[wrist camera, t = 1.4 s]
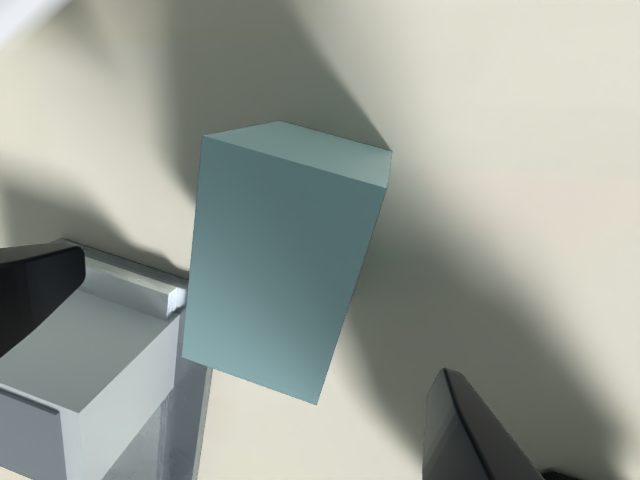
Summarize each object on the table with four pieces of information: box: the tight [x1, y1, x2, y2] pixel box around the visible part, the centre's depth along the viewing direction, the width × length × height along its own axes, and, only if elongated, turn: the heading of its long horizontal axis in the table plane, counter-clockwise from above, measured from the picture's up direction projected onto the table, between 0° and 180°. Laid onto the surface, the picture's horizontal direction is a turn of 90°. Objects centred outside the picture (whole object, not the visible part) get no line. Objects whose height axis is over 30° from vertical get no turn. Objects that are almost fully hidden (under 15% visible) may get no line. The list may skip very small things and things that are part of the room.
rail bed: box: [51, 238, 213, 480], centre depth 22 cm, size 9×26×2 cm, turn 166°
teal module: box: [182, 121, 392, 405], centre depth 12 cm, size 4×7×6 cm, turn 166°
